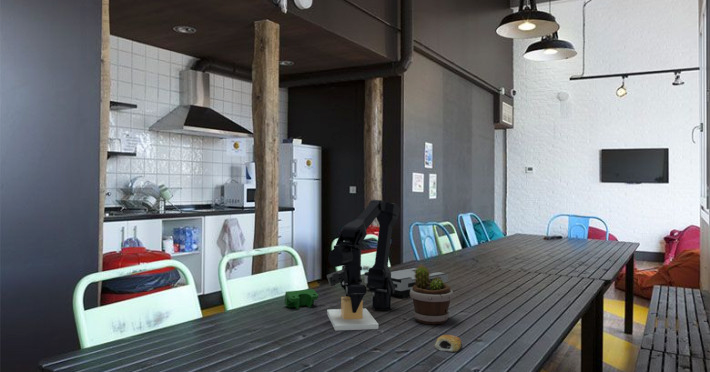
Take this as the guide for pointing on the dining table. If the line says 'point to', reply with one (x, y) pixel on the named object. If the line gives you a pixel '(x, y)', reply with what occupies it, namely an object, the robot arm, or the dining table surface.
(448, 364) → the dining table surface
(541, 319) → the dining table surface
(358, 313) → the cardboard box
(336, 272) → the robot arm
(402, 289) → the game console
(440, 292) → the flowerpot
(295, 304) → the clamp
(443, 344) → the pastry
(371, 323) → the plate
